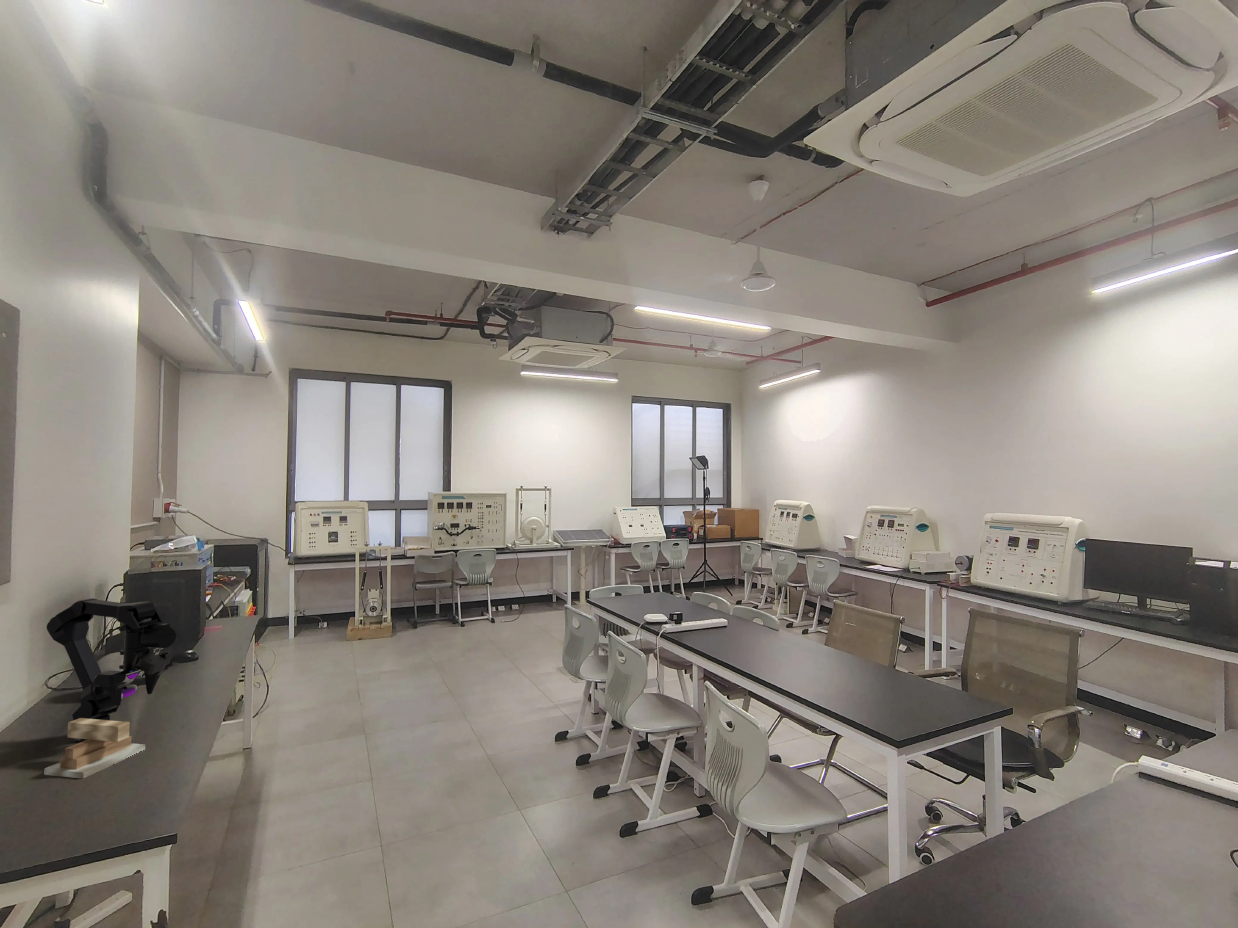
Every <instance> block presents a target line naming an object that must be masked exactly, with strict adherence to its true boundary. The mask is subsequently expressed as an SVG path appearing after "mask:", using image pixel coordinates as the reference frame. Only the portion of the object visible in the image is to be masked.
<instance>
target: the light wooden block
mask: <svg viewBox="0 0 1238 928" xmlns="http://www.w3.org/2000/svg"><path fill="white" fill-rule="evenodd" d="M130 725H131V723H130V721H121V720H111V719H110V720H98V719H86V718H79V719H76V720H74V721H73V720H71V721H68V722H67V738H70V739H77V738H79V739H90V740H101V741H113V742H119V741H121V740H123V739H126V738H128V737H129V736H130V728H131V727H130Z"/></svg>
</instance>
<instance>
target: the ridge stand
mask: <svg viewBox="0 0 1238 928" xmlns="http://www.w3.org/2000/svg"><path fill="white" fill-rule="evenodd" d="M132 738H133V736H132V735H129V737H128V738H126V739H123V740H121V741H119V742H113V741H101V740H90V739H88V740H85V741H83V742H78V743H76V744H73V745H71V746H68V747H65V750H64V756H62V757H60V761H59V762H57V763H55V764H52V765H49V766H48V767H45V768H44V772H43V775H45V776H52V777H53V776H54V777H63V778H64V777H66V778H73V779H74V778H76V779H86V778H87V777H90V776H92V775H94V774H96V773H98V772H100V771H103V770H105V769H107V768H109V767H111V766H113V764H114V765H116V764H118V763H120V762H122V761H124V760H126V758H127V759H128V757H129V758H131V757H133V756H135V755H137V754H139V752H140V751H142V752H144V751H145V750H146V744H143V743H132ZM143 750H144V751H143ZM136 753H137V754H136ZM140 753H141V752H140ZM134 754H135V755H134ZM132 755H133V756H132ZM130 756H131V757H130Z"/></svg>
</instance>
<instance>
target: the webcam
mask: <svg viewBox="0 0 1238 928" xmlns="http://www.w3.org/2000/svg"><path fill="white" fill-rule="evenodd" d="M123 658H124V655H120V651H117V652H113V653H109V654H107V655H104V656H102V657H101V658H100V659H99V660H97V663H98V665H99V668H100V670H101V672H102V673H103V672H107V671H110V670H112V671H123V669H119V665H123ZM130 672H131V671H130ZM138 674H139V672H138V673H135V674H132V675H129V676H126V679H125V680H124V681H123V682H126V684H125V685H124V686H123V687H122V699H124V698H127V697H130V696H132V695H133V694H135V693H136V691H137V688H138V687H137V685H136V684H131V683H132V682H133V681H134V680H135V679H136V678H137V676H138Z"/></svg>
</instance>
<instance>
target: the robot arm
mask: <svg viewBox="0 0 1238 928" xmlns="http://www.w3.org/2000/svg"><path fill="white" fill-rule="evenodd" d="M96 616H98V617H103V618H104V617H106V618H113V619H116V621H117V622H118V623H120V624H123V625H122V626H121V627H119V628H118V631H119V632H124V641H123V643H124V644H123V650H120V651H119V652H120V655H124V658H123V665H119V669H123V671H112V670H110V671H107V672H103V673H102V672H101V670H100V668H99V665H98V663H97V662H98V660H97V659H96V657H95V654H94V652H93V650H92V647H91V645H90V643H89V641H88V638H87V636H88V632H89V630H90V624H89V622H90V621H91V620H93V619H94V617H96ZM164 622H165V621H164V620H163V618H162V616H161V615H160V612H159V611H158V609H157V608H156V606H155V604H154V603H153V602H151V601H147V600H146V601H137V602H131V603H130V602H129V603H125V602H119V601H118V602H116V601H111V600H110V601H109V600H103V599H98V598H94V597H93V598H87V599H80V600H78V601H76V602H73V604H72V605H70V606H69V607H68V608H66V609H64V610H62V611H60V612H59V613H57V614H56V615H55V616H53V617H52V618H50V619H49V621H48V623H47V624H46V630H47V633H48V634H49V635H50V637H51V638H52V640H53V642H57V644H60V645H62V646H63V647H64V649H65V651H66V653H67V656H68V658H69V660H70V663H71V664H72V666H73V669H74V672H75V674H76V676H77V678H78V681H79V683H80V685H81V688H82V691H81V694H80V697H79V702H80V706H79V707H78V708H77V709H76V710H75V711H74V712H73V713H72V715H71V716H72V721H74V720H76V719H79V718H86V719H98V720H110V721H111V714H113V713H117V712H118V709H119V707H120V706H121V703H122V699H123V698H122V687H123V686H124V685H125V684H126V682H123V681H124V680H125V679H126V676H129V675H132V674H135V673H138V674H139V673H141V672H143V673H144V681H145V689H146V693H147V695H152V694H153V691H154V689H155V686H156V685H157V683H158V680H159V679H160V676H161V675H162V674H163V673H164V672H166V671H168V670H169V668H170V667H173V664H174V663H173V662H174V659H173V658H172V653H171V652H169V651H165V652H161V653H157V654H155V652H154V650H155V649H156V648H157V649H167V648H169V647H171V646H172V645H173V644H174V642H175V641H176V639H177V632H176V631H175V629H173V628H172V627H171V623H169V622H168V623H164ZM154 648H155V649H154ZM130 671H131V672H130ZM73 740H74V741H73V742H78V743H80V742H83V741H85V740H88V739H79V738H73Z"/></svg>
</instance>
